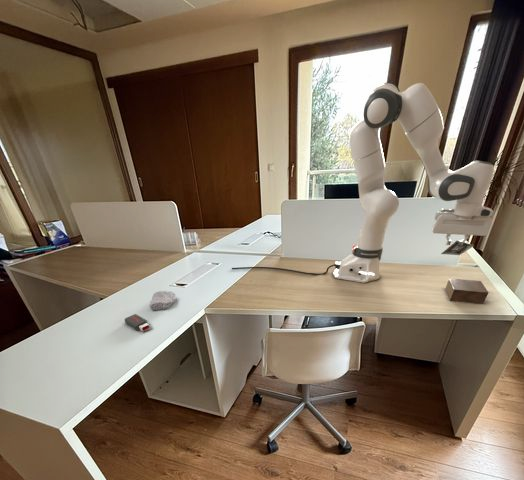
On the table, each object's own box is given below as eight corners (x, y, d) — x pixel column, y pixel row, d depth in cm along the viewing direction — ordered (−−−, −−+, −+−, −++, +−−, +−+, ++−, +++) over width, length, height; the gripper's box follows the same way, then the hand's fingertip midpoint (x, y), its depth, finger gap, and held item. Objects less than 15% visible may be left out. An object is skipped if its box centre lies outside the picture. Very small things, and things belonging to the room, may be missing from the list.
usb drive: (137, 318, 117) (135, 312, 116) (152, 327, 111) (150, 321, 109) (125, 323, 114) (123, 317, 113) (140, 333, 108) (138, 327, 106)
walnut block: (449, 300, 118) (454, 289, 115) (445, 289, 127) (449, 278, 124) (483, 304, 114) (488, 292, 111) (476, 291, 123) (481, 280, 120)
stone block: (177, 300, 133) (155, 298, 131) (177, 291, 130) (154, 288, 129) (173, 313, 124) (149, 311, 122) (172, 304, 121) (148, 301, 119)
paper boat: (475, 233, 119) (472, 238, 113) (477, 248, 120) (474, 254, 115) (442, 243, 127) (437, 248, 121) (444, 257, 129) (440, 262, 123)
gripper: (438, 210, 113) (427, 245, 122) (498, 211, 108) (483, 248, 116) (436, 207, 118) (426, 241, 126) (493, 208, 112) (479, 244, 121)
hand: (453, 245), depth 121 cm, fingers closed on paper boat, 3 cm apart
